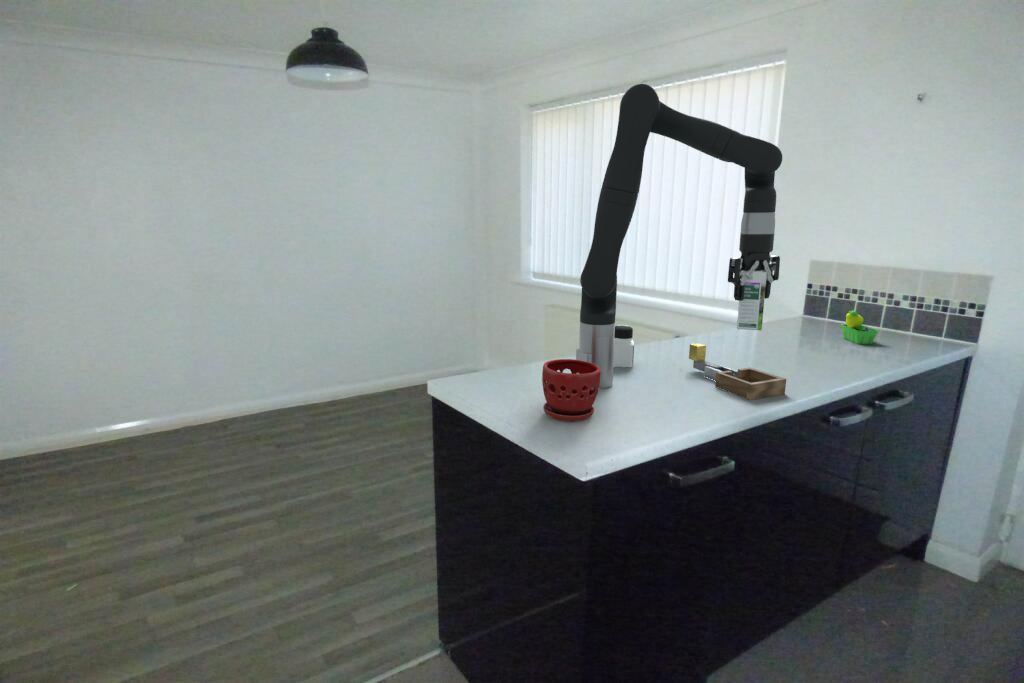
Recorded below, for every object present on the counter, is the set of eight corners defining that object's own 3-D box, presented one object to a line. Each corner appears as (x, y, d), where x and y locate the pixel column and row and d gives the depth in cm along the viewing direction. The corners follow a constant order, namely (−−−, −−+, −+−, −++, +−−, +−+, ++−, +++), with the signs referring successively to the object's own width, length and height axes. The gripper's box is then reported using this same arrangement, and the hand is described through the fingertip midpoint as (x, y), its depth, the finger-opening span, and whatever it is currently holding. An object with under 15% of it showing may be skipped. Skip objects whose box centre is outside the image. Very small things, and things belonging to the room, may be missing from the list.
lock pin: (714, 375, 154) (716, 352, 152) (688, 366, 163) (689, 344, 162) (723, 374, 155) (725, 351, 154) (696, 365, 165) (698, 343, 163)
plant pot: (558, 429, 119) (559, 376, 116) (532, 410, 131) (532, 361, 128) (610, 420, 124) (612, 369, 121) (580, 402, 136) (581, 355, 133)
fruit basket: (878, 344, 195) (882, 313, 192) (852, 344, 195) (857, 313, 192) (858, 337, 206) (863, 307, 203) (834, 337, 206) (838, 307, 203)
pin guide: (724, 385, 149) (725, 373, 149) (703, 377, 157) (704, 366, 156) (738, 382, 151) (739, 371, 151) (717, 375, 158) (718, 364, 158)
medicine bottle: (633, 368, 166) (634, 329, 163) (608, 366, 167) (610, 328, 165) (632, 362, 173) (634, 324, 170) (609, 360, 174) (611, 323, 171)
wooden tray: (750, 400, 137) (751, 384, 136) (715, 386, 148) (716, 372, 147) (784, 393, 142) (786, 379, 141) (748, 381, 153) (749, 367, 152)
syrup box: (736, 329, 137) (741, 270, 133) (737, 325, 142) (741, 268, 139) (761, 331, 134) (767, 271, 131) (761, 326, 140) (766, 269, 136)
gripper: (746, 233, 127) (741, 303, 131) (792, 231, 132) (785, 299, 136) (722, 232, 134) (718, 299, 137) (767, 231, 139) (761, 295, 143)
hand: (751, 299), depth 137 cm, fingers closed on syrup box, 8 cm apart
